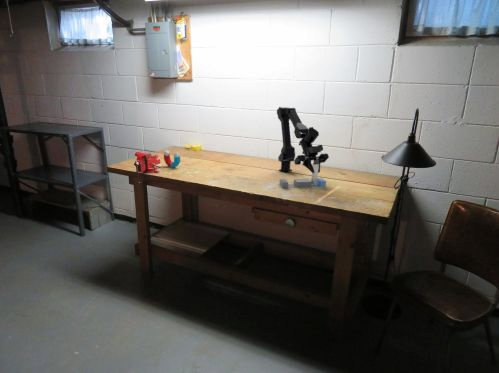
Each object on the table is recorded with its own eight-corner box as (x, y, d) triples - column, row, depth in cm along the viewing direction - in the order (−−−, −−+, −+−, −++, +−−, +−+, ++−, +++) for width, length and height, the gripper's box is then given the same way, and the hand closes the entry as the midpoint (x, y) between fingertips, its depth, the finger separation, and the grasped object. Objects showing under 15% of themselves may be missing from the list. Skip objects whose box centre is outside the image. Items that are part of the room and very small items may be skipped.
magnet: (180, 168, 222) (180, 152, 218) (177, 169, 219) (176, 153, 216) (167, 165, 228) (166, 149, 225) (164, 166, 225) (163, 150, 222)
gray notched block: (279, 186, 193) (279, 179, 191) (321, 184, 197) (322, 178, 196) (282, 189, 187) (282, 182, 186) (325, 188, 191) (326, 181, 190)
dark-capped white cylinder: (311, 182, 194) (313, 159, 190) (317, 182, 194) (319, 159, 190) (310, 184, 191) (313, 160, 187) (317, 184, 191) (319, 161, 187)
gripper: (298, 140, 185) (307, 166, 179) (328, 138, 192) (338, 163, 186) (290, 151, 195) (298, 176, 189) (319, 149, 201) (328, 174, 195)
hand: (316, 172), depth 189 cm, fingers closed on dark-capped white cylinder, 3 cm apart
